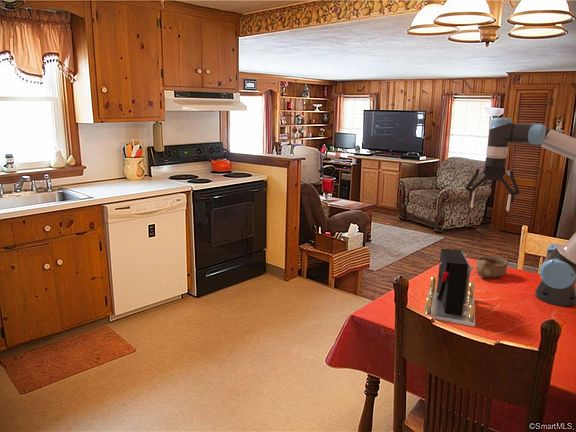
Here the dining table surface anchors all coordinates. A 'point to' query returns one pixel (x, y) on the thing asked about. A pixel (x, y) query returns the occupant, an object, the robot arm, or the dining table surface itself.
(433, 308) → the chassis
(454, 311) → the electrical component
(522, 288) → the dining table surface
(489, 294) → the dining table surface
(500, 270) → the bowl
